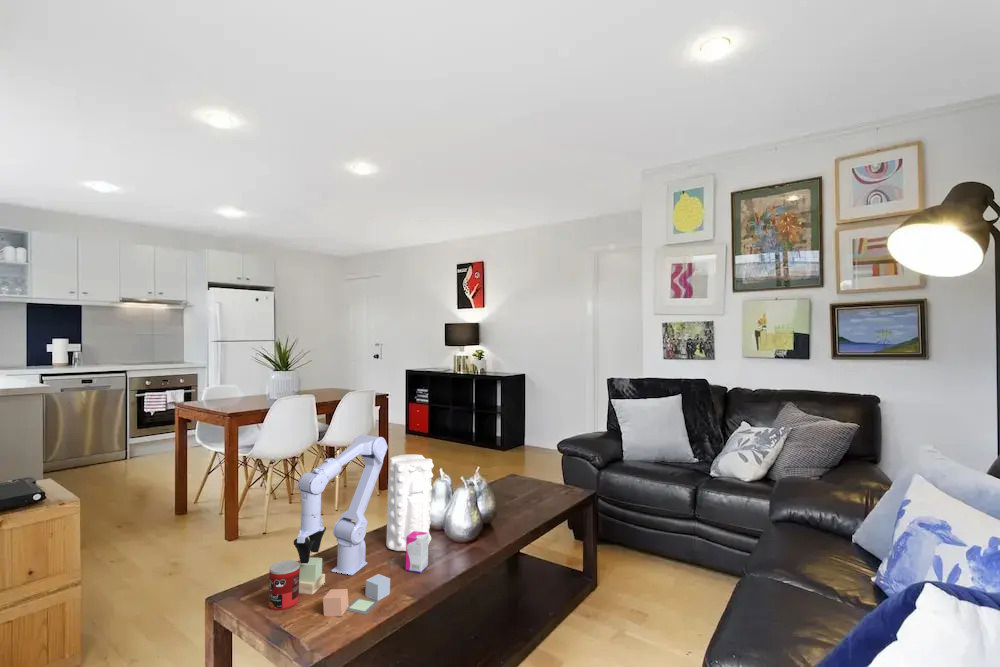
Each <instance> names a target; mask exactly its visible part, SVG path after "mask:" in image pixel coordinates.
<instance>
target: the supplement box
mask: <svg viewBox="0 0 1000 667" xmlns="http://www.w3.org/2000/svg"><path fill="white" fill-rule="evenodd" d="M429 534H430V532H429V533H427V532H418V531H413V532H412V533H411V534H409V535H408V536H407V538H406V551H405V554H406V555H405V572H409V573H410V572H411V573H415V574H422V573H423V572H424V571H425V570H426V569H427V568H428V567H427V566H429V544H428V537H429Z"/></svg>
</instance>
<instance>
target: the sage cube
mask: <svg viewBox="0 0 1000 667" xmlns="http://www.w3.org/2000/svg"><path fill="white" fill-rule="evenodd" d="M299 565H300V575H299V581H305V582H316V581H317V579H318V578H319V577H320V576H321V574H323V558H322V557H312V556H310V558H309V562H308V563H307V564H306V563H301V562H299Z"/></svg>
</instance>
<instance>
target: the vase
mask: <svg viewBox="0 0 1000 667" xmlns="http://www.w3.org/2000/svg"><path fill="white" fill-rule="evenodd" d="M434 465H435V464H434V463H433V459H432V458H426V457H424V455H423V454H414V453H413V454H408V453H407V454H398V455H394V456H391V457H390V458H389V464H388V477H387V478H388V479H387V482H388V483H387V504H386V507H387V509H386V510H387V511H386V512H387V513H386V542H385V543H386V547H387V548H388V549H390V550H393V551H396V552H406V538H407V536H408V535H409V534H411V533H412V532H413V531H418V532H427V533H429V537H428V545H429V544H430V542H431V541H432V536H431V534H430V528H431V527H430V526H431V522H432V521H431V515H430V514H431V510H432V507H431V505H432V490H433V486H432V481H433V480H432V478H433V477H434V473H433V469H434Z"/></svg>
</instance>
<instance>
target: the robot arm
mask: <svg viewBox="0 0 1000 667" xmlns="http://www.w3.org/2000/svg"><path fill="white" fill-rule="evenodd" d="M387 450H388V443H387V441H386V439H385V438H384V437H383V436H374V435H367V434H365V433H362V434H359V435H358V436H357V437H356V438H354V439H353V442H352V443H351V444H350V445H349V446H348V447H346V449H344V450H343V451H342V452H340V454H339V455H337V456H336V457H335V458H334V457H330V458H326V459H324V461H323V463H321V464H320V465H318V466H317V467H315V468H313V469H312V470H311V472H305V473H303V474H302V475H301V476H300V477H299V480H298V482H297V484H296V486H297V489H298V491H299V492H300V496H301V497H300V498H301V500H300V527H299V531H298V535H297V537H296V538H295V539H294V540H293V545H294V547H295V549H296V551H297V553H298V557H299V563H306V564H307V563H308V562H309V558H310V557H311V553H317V554H318V553H319V551H320V548H321V544H322V539H323V536H324V534H325V532H326V530H327V527H326V526H324V525H323V524H324V521H323V520H324V519H323V518H322V512H321V511H322V492H324V490H325V488H326V486H327V485H328V483H329V482H330V481H332V479H334V478H335V477H336V476H338V475H339V474H340V473H341V471H342V467H343V466H345V465H347V464H348V463H349V462H351V461H353V460H354V459H356V458H357V457H358V456H360V457H361V458H362V459H363V461H364V464H365V466H364V467H363V471H362V474H361V476H360V477H359V481H358V484H357V486H356V489H355V491H354V494H353V496H352V499H351V502H350V505H349V507H348V509H347V510H345V511H344V512H342V513H341V514H340V515H339V516H340V517H339V518H338V519H337V521H336V522H335V524H334V525H333V527H332V528H333V529H332V534H333V536H334V538H336V542H337V555H336V556H337V560H336V561H337V563H336V564H337V565H336V566H334V568H332V569H331V572H332V573H336V572H337V574H341V573H342V574H343V575H347V574H348V576H354V575H355V574H356V573H357V572H359V571H360V570H361V569H363V568H364V567H365V566H366V565H368V562H367V561H366V554H367V553H366V547H367V546H366V541H365V540H364V539H365V537H366V533H367V526H368V519H367V518H366V516H365V513H366V510H367V507H368V505H369V502H370V499H371V496H372V495H373V491H374V489H375V487H376V486H375V485H376V483H377V480H378V478H379V475H380V472H381V469H382V467H383V464H384V458H385V456H386V454H387Z"/></svg>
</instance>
